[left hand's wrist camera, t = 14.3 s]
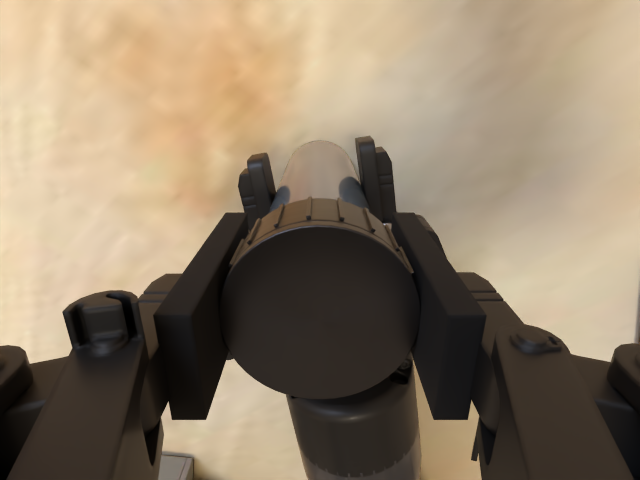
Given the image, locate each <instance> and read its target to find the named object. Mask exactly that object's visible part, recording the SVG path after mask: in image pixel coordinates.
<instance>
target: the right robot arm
mask: <svg viewBox="0 0 640 480" xmlns="http://www.w3.org/2000/svg"><path fill="white" fill-rule="evenodd" d="M355 142H356V151H357V159H358V167H359V175H360V183H361V188H362V190H363V193H364V195H365V198H366V200H367V203H368V206H369V208H370V211H371V213H372V215H374V216H375V217H376V218H377V219H378V220H380V221H381V222H382V223H383V224H384V225H388V226H389V227H390V229H391V225H392V213H398V212H396V203H395V193H394V184H393V172H392V162H391V160H390V158H389V156H388V154H387V152H386V151H385V150H384V149H383V148H382V147H377V148H375V144H374V140H373V139H372V138H371V137H370V136H366V137H360V138H355ZM247 167H248V168H246V169H245V170H244V171H243V172H242V173H241V174H240V177H239V184H238V188H239V192H240V196H241V200H242V204H243V208H244V212H245V213H247V214H248V228H249V232H250V231H251V230H252V228H253V227H254V225H255V223H256V221H257V219H259V218H260V219H262V218H263V217H265V216H266V215H268V213H269V210H270V208H271V205H272V203H273V200H274V198H275V195H276V190H275V185H274V180H273V176H272V171H271V166H270V161H269V157H268V154H267V153H261V154H255V155H252V156H251V157H250V158H249V159H248V161H247ZM416 216H417V218H418V219H419V221H420V222H421V223H422V225H423V226H424V228H425V229H426V230H427V232H428V233H429V235H430V236H431V237H432V239H433V240H434V242H435V243H436V244H437V246H438V247H439V249H440V250H441V251H442V253H443V254H444V256H445V257H446V255H445V253H444V250H443V248H442V245H441V243H440V240H439V238H438V236H437V235H436V233H435V232H434V230H433V229H432V228H431V227H430V225H429V224H428V223H427V221H426V220H425V219H424V218H423V217H422V216H420V215H416ZM231 359H234V358H233V356H232V355H231V353H230V352H229V353H228V356H227V359H226V360H231ZM286 397H287V401H288V405H289V409H290V413H291V417H292V421H293V425H294V429H295V433H296V437H297V441H298V445H299V449H300V453H301V457H302V461H303V465H304V469H305V472H306V475H307V478H308V480H420V468H421V444H420V433H419V422H418V412H417V400H416V390H415V379H414V368H413V356H412V353H411V351H410V353H409V354H408V356H407V357H406V359H405V360H404V361H403V362H402V364H401V365H400V366H399V367H398V368H397V369H396V370H395V371H394V372H393V373H392V374H391V375H389V376H388V377H387V378H385V379H384V380H382V381H381V382H380V383H378V384H376V385H374V386H372V387H371V388H369V389H366V390H364V391H361V392H359V393H356V394H352V395H349V396H345V397H339V398H333V399H307V398H300V397H295V396H291V395H287V394H286Z"/></svg>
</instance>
